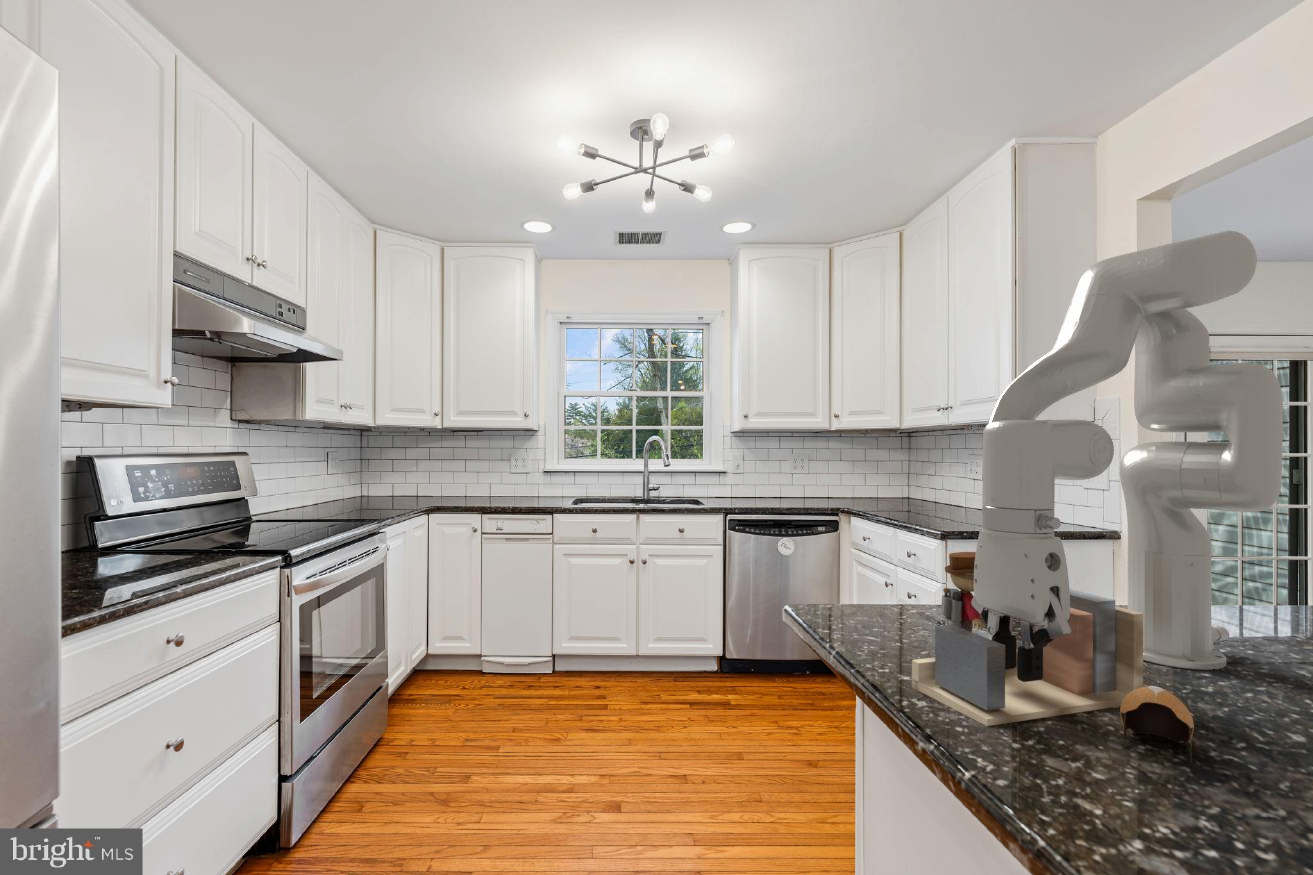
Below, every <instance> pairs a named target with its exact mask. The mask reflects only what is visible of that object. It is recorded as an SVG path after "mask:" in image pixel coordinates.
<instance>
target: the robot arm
mask: <svg viewBox="0 0 1313 875" xmlns="http://www.w3.org/2000/svg"><path fill="white" fill-rule="evenodd" d="M1257 257H1258V256H1257V252H1256V249H1255V246H1254V244H1253V243H1252V240H1250V238H1248V237H1247V236H1246V235H1244V234H1243V233H1241V232H1239V231H1234V230H1224V231H1220V232H1214V233H1210V234H1206V235H1202V236H1199V237H1195V238H1194V237H1193V238H1188V239H1186V240H1180V241H1176V242H1172V243H1171V242H1170V243H1167V244H1164V245H1163V244H1162V245H1158V246H1154V247H1150V248H1145V249H1142V250H1138V251H1134V252H1129V253H1125V254H1121V255H1116V256H1112V257H1109V258H1106V259H1103V260H1101V261H1097V262H1096V263H1094V264H1093V265H1091V266H1090V267H1088V268H1087V269H1086V270H1085V271H1084V272H1083V274H1081V277H1080V279H1079V280H1078V282H1077V286H1076V287H1075V290H1074V293H1073V296H1072V297H1071V300H1070V303H1069V306H1068V309H1067V311H1066V314H1065V317H1064V319H1063V322H1062V324H1061V327H1060V330H1059V332H1058V334H1057V338H1056V339H1055V343H1054V345H1053V347H1052V348H1051V350H1049V351H1048V352H1047V353H1045V354H1044V355H1042V356H1041V357H1040V358H1038V359H1037V360H1036V361H1034V362H1033V363H1032V364H1031V365H1030V366H1028V367H1027V368H1026V369H1025V370H1024V371H1023V372H1022V373H1020V375H1018V377H1016V378H1015V379H1014V380H1013V381H1012V382H1011V383H1010V384H1009V385H1008V386H1007V387H1006V388H1005V390H1004V391H1003V392H1002V393H1001V395H999V398H998V399H997V401H996V403H995V406H994V409H993V411H992V413H991V416H990V419H989V421H988V423H987V424H986V426H985V427H984V428H983V432H982V508H981V509H982V512H981V513H982V515H981V516H982V522H981V523H982V529H980V530H979V534H978V537H977V542H976V543H977V544H976V549H975V552H976V555H975V565H974V592H973V596H974V597H973V599H972V601H971V604H972V606H973V607H974V608H975V609H976V610H977V611H978V612H979V614H980V616H981V619H983V620H984V621H983V622H985V623H984V624H986V626H987V627H986V630H987V634H988V635H989V636H991V640H993V641H995V642H998V643H1000V644H1003V645H1005V669H1013V668H1016V648H1018V649H1017V677H1018V679H1019V680H1020V681H1022V682H1029V681H1037V680H1041V679H1042V678H1043V648H1044V647H1048V646H1049V643H1050V642H1051V641H1053V640H1054V639H1055V638H1059V637H1063V636H1067V635H1070V634H1071V629H1070V627H1069V624H1068V622H1067V620H1068V619H1069V617H1070V591H1069V589H1070V581H1069V580H1070V579H1069V571H1068V570H1069V569H1068V564H1067V559H1066V553H1065V550H1064V545H1063V541H1062V539H1061V537H1059V536H1055V530H1059V528H1060V527H1061V520H1060V518H1058V517H1056V516H1055V497H1056V496H1055V495H1056V494H1055V490H1056V488H1055V487H1056V486H1055V480H1060V481H1061V480H1062V481H1064V480H1065V481H1084V480H1090V479H1094V478H1096V477H1098V476H1100V475H1102V474H1103V473H1104V472H1105V471H1106V470H1107V469H1108V468H1109V467H1110V465H1111V463H1112V461H1113V458H1114V454H1115V446H1114V442H1113V439H1112V437H1111V435H1110V434H1109V432H1108V431H1107V430H1106V429H1105V428H1103V426H1101V425H1099V424H1098V423H1096V422H1093V421H1089V420H1087V419H1086V420H1084V419H1038V420H1037V418H1038V417H1039V416H1041V414H1042V413H1043V412H1045V410H1047V409H1048V408H1049V407H1051V406H1052V405H1054V404H1055V403H1057V402H1060V401H1061V400H1063V399H1064V398H1067V397H1069V396H1071V395H1074V394H1076V393H1079V392H1081V391H1084V390H1086V389H1089V388H1091V387H1094V386H1095V385H1098V384H1100V383H1102V382H1104V381H1106V380H1109V379H1111V378H1112V377H1114V376H1116V375H1118V374H1120V373H1121V372H1122V371H1123V370H1124V369H1125V368H1126V366H1127V365H1128V362H1129V360H1130V357H1131V355H1132V354H1131V353H1132V351H1133V348H1134V383H1133V384H1134V387H1133V388H1134V392H1133V396H1134V397H1133V408H1134V416H1135V418H1136V421H1137V423H1138V425H1139V426H1141V427H1142V428H1143V429H1146V430H1148V431H1153V432H1159V433H1224V434H1225V433H1226V435H1227V436H1228V440H1229V441H1153V442H1152V441H1151V442H1145V443H1140V444H1137V445H1136V446H1134V447H1131V448H1129V449H1128V450H1127V451H1126V452H1125V453H1124V454H1123V455H1122V458H1121V460H1120V463H1119V478H1120V479H1119V480H1120V484H1121V488H1122V492H1123V497H1124V502H1125V508H1126V519H1127V609H1128V610H1132V611H1136V612H1140V613H1143V661H1146V662H1149V663H1153V664H1156V665H1161V666H1167V667H1171V668H1177V669H1178V668H1179V669H1188V670H1196V671H1197V670H1200V671H1211V670H1213V669H1215V670H1219V669H1220V668H1221V669H1223V668H1225V667H1226V666H1227V657H1226V656H1225V654H1223V653H1222V652H1221V651H1219V650H1217V649H1214V643H1215V642H1218V641H1219V642H1220V641H1225V640H1228V639H1229V638H1230V632H1229V630H1228V629H1226V628H1225V627H1223V626H1215V627H1214V626H1212V554H1213V552H1212V540H1211V537H1210V534H1209V531H1208V530H1207V529H1206V527H1205V525H1204V524H1203V523H1202V522H1201V521H1200V519H1199V518H1198V517H1197V516H1196V515H1195V514H1194V512H1193V511H1192V510H1191V509H1194V510H1195V509H1196V510H1197V509H1200V510H1210V511H1226V512H1239V513H1240V512H1241V513H1257V512H1263V511H1266V510H1268V509H1270V508H1272V507H1273V506H1274V504H1276V502H1277V501H1278V499H1279V497H1280V493H1281V488H1282V479H1283V478H1282V477H1283V435H1284V434H1283V427H1284V426H1283V424H1284V423H1283V422H1284V421H1283V420H1284V413H1283V412H1284V403H1283V401H1284V400H1283V394H1282V388H1281V384H1280V382H1279V380H1278V378H1277V376H1276V374H1275V373H1274V372H1273V371H1272V370H1271V369H1270V368H1269V367H1267V366H1265V365H1262V364H1259V363H1253V362H1235V363H1234V362H1232V363H1225V364H1224V363H1223V364H1212V365H1211V361H1210V333H1209V330H1208V329H1207V327H1206V326H1205V324H1203V322H1202V320H1200V319H1199V318H1198V317H1197V316H1196V315H1194V314H1193V313H1192V312H1191V311H1190V310H1188V309H1191V308H1195V307H1200V306H1204V305H1209V304H1211V303H1214V302H1217V301H1220V300H1223V299H1226V298H1228V297H1231V296H1233V295H1236V294H1238V293H1240V292H1241V291H1242V290H1244V289H1245V288H1246V287H1247V286H1248V285H1249V284H1250V282H1251V281H1252V279H1253V277H1254V275H1255V272H1256V269H1257V265H1258V264H1257V263H1258V262H1257V260H1258V259H1257ZM1014 619H1016V620H1019V622H1020V633H1021V634H1020V635H1021V646H1017V635H1014V634H1012V633H1013V628H1014ZM1047 619H1048V620H1049V622H1050V625H1049V627H1048V624H1047ZM1034 626H1036V632H1035V633H1033V627H1034ZM1213 671H1214V670H1213Z"/></svg>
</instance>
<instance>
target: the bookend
mask: <svg viewBox="0 0 1313 875" xmlns="http://www.w3.org/2000/svg"><path fill="white" fill-rule="evenodd" d="M934 627H935V631H934V632H935V633H934V635H935V636H934V637H935V639H934V640H935V641H934V643H935V644H934V645H935V647H934V648H935V650H934V651H935V652H934V653H935V654H934V657H935V683H936V684H938V685H940V686H942V687H944V688H945V689H947V690H949V691H951V692H953V693H955V694H957V695H959V696H960V697H962V698H964V699H966V700H968V701H970V702H972V703H974V704H975V705H977V706H979V707H981V708H983V709H985V710H987V711H988V710H995V709H1002V708H1005V645H1003V644H1000V643H998V642H995V641H993V640H992V639H990V638H987V637H985V636H982V635H979V634H977V633H975V632H973V631H972V632H970V631H967V630H965V629H962V628H959V627H957V626H954V625H951V624H946V625H936V626H934Z"/></svg>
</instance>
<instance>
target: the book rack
mask: <svg viewBox="0 0 1313 875" xmlns="http://www.w3.org/2000/svg"><path fill="white" fill-rule="evenodd" d="M1069 591H1070V617H1069V619H1068V620H1067V622H1068V624H1069V627H1070V629H1071V634H1070V635H1067V636H1063V637H1059V638H1055V639H1054V640H1053V641H1051V642H1050V643H1049V646H1048V647H1044V648H1043V678H1042V679H1041V680H1037V681H1029V682H1022V681H1020V680H1019V679H1018V677H1017V649H1018V647H1016V668H1013V669H1005V708H1002V709H995V710H988V711H987V710H985V709H983V708H981V707H979V706H977V705H975V704H974V703H972V702H970V701H968V700H966V699H964V698H962V697H960V696H959V695H957V694H955V693H953V692H951V691H949V690H947V689H945V688H944V687H942V686H940V685H938V684H936V683H935V656H934V657H927V658H919V659H917V658H916V659H912V660H911V688H913V689H914V690H916V691H919V692H920V693H922V694H924V695H926V696H927V697H930V698H932V699H934V700H936V701H938V702H940V703H942V704H943V705H945V706H947V707H949V708H952V710H953V709H954V710H955V711H956V712H959V713H961V714H963V715H964V716H966V717H968V718H970V719H972V720H974V721H976V722H978V723H980V724H982V725H984V726H986V727H990V726H995V725H996V726H997V725H1002V724H1003V725H1005V724H1009V723H1018V722H1023V721H1024V722H1025V721H1029V720H1030V721H1031V720H1037V719H1042V718H1050V717H1058V716H1063V715H1070V714H1076V713H1082V712H1089V711H1097V710H1103V709H1108V708H1109V709H1111V708H1116V707H1121V703H1122V700H1123V698H1124V697H1125V696H1126V695H1127V694H1128V693H1130V692H1131V691H1133V690H1135V689H1138V688H1141V687H1144V660H1143V613H1140V612H1136V611H1132V610H1128V608H1124V607H1120V606H1116V599H1112V598H1109V597H1105V596H1099V595H1096V594H1092V593H1088V592H1084V591H1081V590H1076V589H1073V588H1069ZM1047 624H1048V627H1049V625H1050V622H1049V620H1048V619H1047ZM1035 632H1036V626H1034V627H1033V633H1035Z"/></svg>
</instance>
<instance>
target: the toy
mask: <svg viewBox="0 0 1313 875" xmlns="http://www.w3.org/2000/svg"><path fill="white" fill-rule="evenodd" d="M975 555H976V551H961V552H960V551H958V552H953V553H952V552H951V553H949V554H948V558H949V561H948V562H949V564H948V565H946V566H945V567H944V571H945V573H947V574H949V575H950V578H951V579H950V580H951V581H952V583H953V585H954V586H955V587H956V588H949V587H943V589H942V591H943V595H942V596H941V607H940V614H941V615H943V616H944V620H946V621H947V622H948V621H949V622H950V625H954V626H957V627H959V628H962V629H965V630H967V631H970V632H972V633H973V629H977V630H978V631H983V629H984V628H986V625H985V623H984V621H982V616H981V614H980V613H979V612H978V611H977V610H976V609H975V608H974V607H973V606H972V604H971V601H972V599H973V597H974V565H975Z"/></svg>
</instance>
